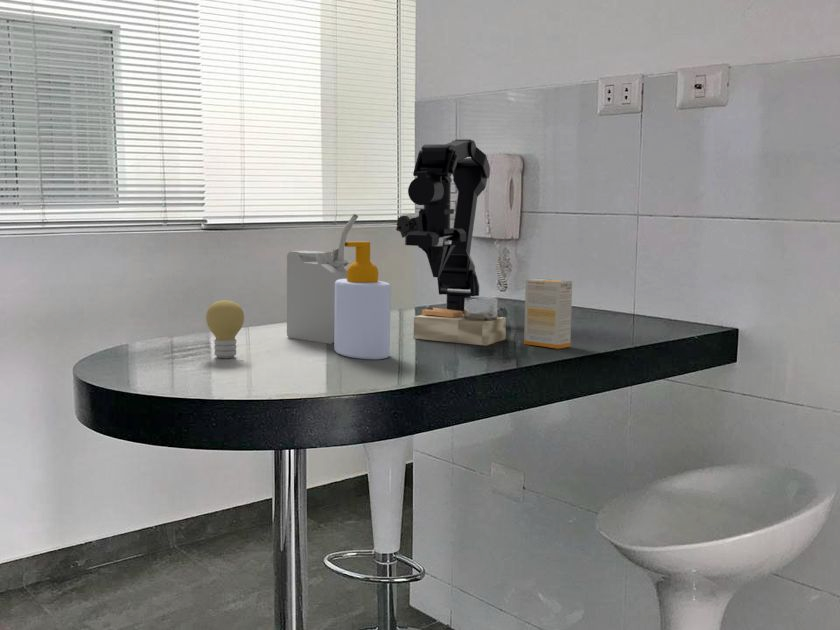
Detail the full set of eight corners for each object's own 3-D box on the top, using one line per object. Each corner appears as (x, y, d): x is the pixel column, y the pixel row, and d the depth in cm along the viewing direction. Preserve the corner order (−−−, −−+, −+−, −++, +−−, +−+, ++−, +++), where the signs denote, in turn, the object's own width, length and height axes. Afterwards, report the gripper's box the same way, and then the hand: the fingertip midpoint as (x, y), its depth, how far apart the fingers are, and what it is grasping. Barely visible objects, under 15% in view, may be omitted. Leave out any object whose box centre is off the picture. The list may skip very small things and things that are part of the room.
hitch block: (435, 332, 190) (435, 311, 189) (505, 339, 182) (506, 317, 182) (413, 338, 181) (413, 316, 180) (486, 345, 173) (486, 322, 173)
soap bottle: (323, 351, 164) (323, 240, 161) (360, 347, 169) (361, 239, 166) (363, 362, 153) (364, 243, 151) (401, 357, 158) (403, 243, 156)
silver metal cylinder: (471, 334, 184) (472, 296, 183) (501, 337, 181) (502, 298, 180) (458, 338, 178) (459, 299, 177) (488, 341, 175) (489, 301, 174)
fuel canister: (360, 342, 174) (362, 214, 171) (343, 345, 170) (344, 214, 167) (304, 334, 183) (304, 212, 180) (286, 337, 179) (286, 212, 176)
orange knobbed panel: (463, 315, 183) (463, 307, 183) (452, 317, 179) (453, 309, 179) (431, 311, 187) (431, 303, 186) (420, 313, 182) (420, 306, 182)
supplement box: (571, 347, 174) (574, 280, 172) (557, 349, 171) (560, 281, 169) (536, 341, 180) (539, 277, 178) (522, 344, 176) (524, 278, 174)
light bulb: (225, 361, 151) (225, 303, 149) (198, 357, 154) (198, 300, 153) (251, 356, 156) (251, 300, 155) (225, 353, 159) (224, 297, 158)
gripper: (422, 202, 201) (421, 271, 204) (382, 204, 185) (382, 279, 187) (467, 203, 196) (466, 274, 199) (431, 205, 180) (430, 282, 182)
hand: (436, 277), depth 192 cm, fingers closed
